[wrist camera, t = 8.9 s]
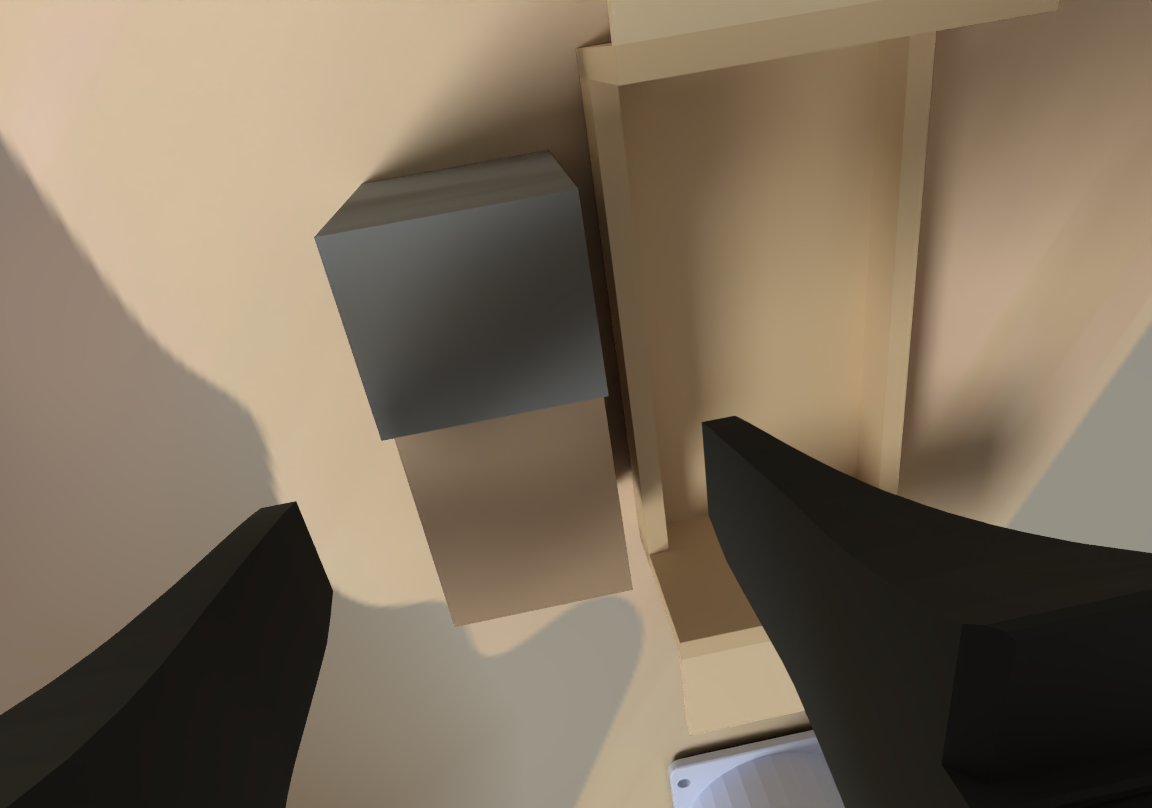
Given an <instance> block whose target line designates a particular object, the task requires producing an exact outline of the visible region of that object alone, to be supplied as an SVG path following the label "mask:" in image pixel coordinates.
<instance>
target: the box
mask: <svg viewBox="0 0 1152 808" xmlns="http://www.w3.org/2000/svg"><path fill="white" fill-rule="evenodd" d="M314 238H315V241H316V244H317V247H318V250H319V253H320V256H321V259H322V262H323V265H324V268H325V271H326V274H327V277H328V280H329V283H330V287H331V290H332V293H333V296H334V299H335V302H336V305H337V308H338V311H339V314H340V317H341V320H342V323H343V326H344V329H345V332H346V335H347V338H348V341H349V344H350V347H351V350H352V353H353V356H354V359H355V362H356V365H357V368H358V371H359V374H360V377H361V380H362V383H363V386H364V389H365V392H366V395H367V398H368V401H369V404H370V407H371V410H372V413H373V416H374V419H375V422H376V425H377V428H378V431H379V434H380V437H381V440H382V441H383V440H388V439H393V438H394V439H395V442H396V445H397V448H398V451H399V455H400V458H401V461H402V464H403V467H404V470H405V473H406V476H407V479H408V483H409V486H410V489H411V492H412V495H413V498H414V501H415V504H416V508H417V511H418V514H419V517H420V520H421V523H422V526H423V529H424V533H425V536H426V539H427V542H428V545H429V548H430V551H431V554H432V557H433V561H434V564H435V567H436V570H437V573H438V576H439V579H440V582H441V586H442V589H443V592H444V595H445V598H446V601H447V604H448V607H449V611H450V614H451V617H452V620H453V622H454V626H455V627H457V626H462V625H467V624H471V623H476V622H481V621H486V620H490V619H495V618H500V617H505V616H509V615H514V614H519V613H524V612H528V611H533V610H538V609H543V608H547V607H552V606H557V605H562V604H567V603H571V602H576V601H581V600H586V599H590V598H595V597H600V596H605V595H609V594H614V593H619V592H624V591H628V590H633V588H632V582H631V575H630V568H629V562H628V555H627V548H626V542H625V535H624V529H623V522H622V515H621V509H620V502H619V495H618V489H617V482H616V475H615V469H614V462H613V455H612V449H611V442H610V435H609V429H608V422H607V415H606V409H605V402H604V397H606V396H609V395H608V389H607V382H606V375H605V368H604V361H603V354H602V348H601V341H600V334H599V327H598V320H597V313H596V307H595V300H594V293H593V286H592V279H591V272H590V266H589V259H588V252H587V245H586V238H585V232H584V225H583V218H582V211H581V204H580V197H579V191H578V188H577V187H576V186H575V184H574V183H573V182H572V180H571V179H570V178H569V177H568V175H567V174H566V173H565V171H564V170H563V169H562V167H561V166H560V165H559V164H558V162H557V161H556V160H555V158H554V157H553V156H552V155H551V153H550V152H549V151H548V150H547V151H541V152H536V153H530V154H525V155H519V156H513V157H508V158H502V159H497V160H491V161H486V162H480V163H474V164H469V165H463V166H458V167H452V168H447V169H441V170H435V171H430V172H424V173H419V174H413V175H408V176H402V177H396V178H391V179H385V180H380V181H374V182H369V183H363V184H361V186H360V187H359V188H358V189H357V190H356V191H355V192H354V193H353V194H352V196H351V197H350V198H349V199H348V200H347V201H346V202H345V203H344V205H343V206H342V207H341V208H340V209H339V210H338V211H337V212H336V214H335V215H334V216H333V217H332V218H331V219H330V220H329V221H328V222H327V224H326V225H325V226H324V227H323V228H322V229H321V230H320V231H319V233H318V234H317V235H316V236H315V237H314Z"/></svg>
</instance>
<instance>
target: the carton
mask: <svg viewBox="0 0 1152 808" xmlns="http://www.w3.org/2000/svg"><path fill="white" fill-rule="evenodd" d="M1059 1H1060V0H607V6H608V15H609V24H610V33H611V42H612V43H606V44H600V45H594V46H589V47H583V48H577V49H576V54H577V62H578V69H579V77H580V84H581V92H582V99H583V107H584V114H585V122H586V129H587V137H588V145H589V152H590V160H591V167H592V175H593V182H594V190H595V197H596V205H597V212H598V220H599V228H600V235H601V243H602V250H603V258H604V265H605V273H606V280H607V288H608V295H609V303H610V311H611V318H612V326H613V333H614V341H615V348H616V356H617V363H618V371H619V378H620V386H621V394H622V401H623V409H624V416H625V424H626V431H627V439H628V446H629V454H630V461H631V469H632V477H633V484H634V492H635V499H636V507H637V514H638V522H639V529H640V537H641V541H642V544H643V547H644V550H645V553H646V556H647V559H648V562H649V565H650V568H651V571H652V574H653V577H654V580H655V582H656V585H657V588H658V591H659V594H660V597H661V600H662V603H663V606H664V609H665V612H666V615H667V618H668V621H669V624H670V626H671V629H672V632H673V635H674V638H675V641H676V644H677V647H678V650H679V657H680V666H681V675H682V684H683V693H684V702H685V711H686V720H687V727H688V731H689V734H690V736H691V735H695V734H700V733H704V732H709V731H714V730H718V729H723V728H727V727H732V726H737V725H741V724H746V723H750V722H755V721H760V720H764V719H769V718H773V717H778V716H783V715H787V714H792V713H796V712H801V711H805V710H804V707H803V705H802V703H801V700H800V698H799V696H798V693H797V691H796V689H795V686H794V684H793V682H792V680H791V678H790V676H789V674H788V672H787V670H786V668H785V666H784V664H783V662H782V661H781V659H780V657H779V655H778V653H777V652H776V650H775V648H774V646H773V644H772V643H771V641H770V639H769V637H768V635H767V634H766V632H765V630H764V628H763V627H762V625H761V623H760V621H759V619H758V618H757V616H756V614H755V612H754V610H753V609H752V607H751V605H750V603H749V601H748V600H747V598H746V596H745V594H744V592H743V591H742V589H741V587H740V585H739V583H738V582H737V580H736V578H735V576H734V574H733V572H732V571H731V569H730V567H729V565H728V563H727V561H726V559H725V556H724V554H723V551H722V549H721V546H720V544H719V541H718V539H717V536H716V534H715V531H714V528H713V526H712V523H711V520H710V518H709V515H708V501H707V488H706V475H705V461H704V448H703V434H702V422H705V421H710V420H715V419H720V418H725V417H730V416H737V417H739V418H741V419H743V420H745V421H747V422H749V423H751V424H752V425H754V426H756V427H758V428H759V429H761V430H763V431H765V432H767V433H768V434H770V435H772V436H774V437H775V438H777V439H779V440H781V441H783V442H784V443H786V444H788V445H790V446H792V447H793V448H795V449H797V450H799V451H801V452H803V453H805V454H807V455H808V456H810V457H812V458H814V459H816V460H818V461H820V462H822V463H824V464H826V465H828V466H830V467H832V468H834V469H836V470H838V471H841V472H843V473H845V474H847V475H849V476H852V477H854V478H856V479H858V480H861V481H863V482H865V483H867V484H870V485H872V486H874V487H877V488H879V489H882V490H884V491H887V492H889V493H892V494H895V495H897V494H898V482H899V470H900V458H901V446H902V434H903V422H904V410H905V399H906V387H907V375H908V363H909V351H910V339H911V327H912V315H913V303H914V291H915V279H916V267H917V256H918V244H919V232H920V220H921V208H922V196H923V184H924V172H925V160H926V148H927V136H928V124H929V113H930V101H931V89H932V77H933V65H934V53H935V41H936V31H940V30H946V29H952V28H958V27H963V26H969V25H975V24H981V23H987V22H992V21H998V20H1004V19H1010V18H1016V17H1021V16H1027V15H1033V14H1039V13H1045V12H1050V11H1056V10H1058V7H1059Z"/></svg>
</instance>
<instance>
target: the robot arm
mask: <svg viewBox="0 0 1152 808" xmlns="http://www.w3.org/2000/svg"><path fill="white" fill-rule="evenodd" d="M702 434H703V448H704V461H705V475H706V488H707V501H708V515H709V518H710V520H711V523H712V526H713V528H714V531H715V534H716V536H717V539H718V541H719V544H720V546H721V549H722V551H723V554H724V556H725V559H726V561H727V563H728V565H729V567H730V569H731V571H732V572H733V574H734V576H735V578H736V580H737V582H738V583H739V585H740V587H741V589H742V591H743V592H744V594H745V596H746V598H747V600H748V601H749V603H750V605H751V607H752V609H753V610H754V612H755V614H756V616H757V618H758V619H759V621H760V623H761V625H762V627H763V628H764V630H765V632H766V634H767V635H768V637H769V639H770V641H771V643H772V644H773V646H774V648H775V650H776V652H777V653H778V655H779V657H780V659H781V661H782V662H783V664H784V666H785V668H786V670H787V672H788V674H789V676H790V678H791V680H792V682H793V684H794V686H795V689H796V691H797V693H798V696H799V698H800V700H801V703H802V705H803V707H804V710H805V712H806V714H807V717H808V719H809V721H810V724H811V726H812V728H813V730H810V731H805V732H801V733H796V734H791V735H787V736H782V737H778V738H773V739H769V740H764V741H759V742H755V743H750V744H746V745H741V746H737V747H732V748H728V749H723V750H718V751H714V752H709V753H705V754H700V755H696V756H691V757H686V758H682V759H678V760H675V761H674V762H672V763H671V765H670V766H669V770H668V771H669V778H670V785H671V793H672V800H673V808H1152V553H1146V552H1139V551H1132V550H1125V549H1117V548H1110V547H1103V546H1096V545H1089V544H1082V543H1076V542H1070V541H1066V540H1060V539H1055V538H1050V537H1045V536H1040V535H1035V534H1030V533H1025V532H1020V531H1017V530H1012V529H1008V528H1004V527H999V526H995V525H991V524H987V523H984V522H980V521H977V520H973V519H969V518H966V517H962V516H958V515H955V514H951V513H948V512H945V511H941V510H938V509H935V508H932V507H929V506H926V505H923V504H920V503H917V502H914V501H912V500H909V499H906V498H903V497H901V496H898V495H895V494H892V493H889V492H887V491H884V490H882V489H879V488H877V487H874V486H872V485H870V484H867V483H865V482H863V481H861V480H858V479H856V478H854V477H852V476H849V475H847V474H845V473H843V472H841V471H838V470H836V469H834V468H832V467H830V466H828V465H826V464H824V463H822V462H820V461H818V460H816V459H814V458H812V457H810V456H808V455H807V454H805V453H803V452H801V451H799V450H797V449H795V448H793V447H792V446H790V445H788V444H786V443H784V442H783V441H781V440H779V439H777V438H775V437H774V436H772V435H770V434H768V433H767V432H765V431H763V430H761V429H759V428H758V427H756V426H754V425H752V424H751V423H749V422H747V421H745V420H743V419H741V418H739V417H737V416H730V417H725V418H720V419H715V420H710V421H705V422H702ZM332 596H333V590H332V587H331V585H330V582H329V580H328V578H327V575H326V573H325V570H324V568H323V565H322V563H321V561H320V558H319V556H318V553H317V551H316V548H315V546H314V544H313V541H312V539H311V536H310V534H309V531H308V529H307V527H306V524H305V522H304V519H303V517H302V514H301V512H300V510H299V507H298V505H297V502H290V503H285V504H280V505H275V506H271V507H265V508H261V509H259V510H258V511H257V512H255V513H254V514H253V515H251V516H250V517H249V518H248V519H247V520H245V521H244V522H243V523H242V524H241V525H240V526H238V527H237V528H236V529H235V530H234V531H233V532H232V533H231V534H230V535H228V536H227V537H226V538H225V539H224V540H223V541H222V542H221V543H220V544H218V545H217V546H216V547H215V548H214V549H213V550H212V551H211V552H210V553H209V554H208V555H206V556H205V557H204V558H203V559H202V560H201V561H200V562H199V563H198V564H197V565H196V566H195V567H193V568H192V569H191V570H190V571H189V572H188V573H187V574H186V575H184V576H183V577H182V578H181V579H180V580H179V581H178V582H177V583H176V584H174V585H173V586H172V587H171V588H170V589H169V590H168V591H166V592H165V593H164V594H163V595H162V596H160V597H159V598H158V599H157V600H156V601H155V602H153V603H152V604H151V605H150V606H149V607H147V608H146V609H145V610H144V611H143V612H142V613H140V614H139V615H138V616H137V617H136V618H134V619H133V620H132V621H131V622H130V623H129V624H128V625H126V626H125V627H124V628H123V629H121V630H120V631H119V632H118V633H116V634H115V635H114V636H113V637H111V638H110V639H109V640H108V641H107V642H105V643H104V644H102V645H101V646H100V647H99V648H97V649H96V650H95V651H93V652H92V653H91V654H89V655H88V656H86V657H85V658H84V659H83V660H81V661H80V662H78V663H77V664H75V665H74V666H73V667H72V668H70V669H69V670H67V671H66V672H64V673H63V674H62V675H60V676H59V677H58V678H56V679H55V680H53V681H52V682H50V683H49V684H47V685H46V686H45V687H43V688H42V689H40V690H39V691H37V692H36V693H34V694H33V695H31V696H29V697H28V698H26V699H25V700H23V701H22V702H20V703H18V704H17V705H15V706H14V707H12V708H11V709H9V710H8V711H6V712H5V713H3V714H2V715H0V808H285V807H286V801H287V795H288V790H289V786H290V782H291V777H292V773H293V768H294V764H295V761H296V757H297V753H298V750H299V746H300V742H301V738H302V735H303V731H304V728H305V724H306V720H307V717H308V713H309V709H310V706H311V702H312V698H313V694H314V691H315V687H316V684H317V680H318V676H319V672H320V668H321V665H322V660H323V657H324V652H325V649H326V645H327V638H328V632H329V623H330V615H331V605H332Z"/></svg>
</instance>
